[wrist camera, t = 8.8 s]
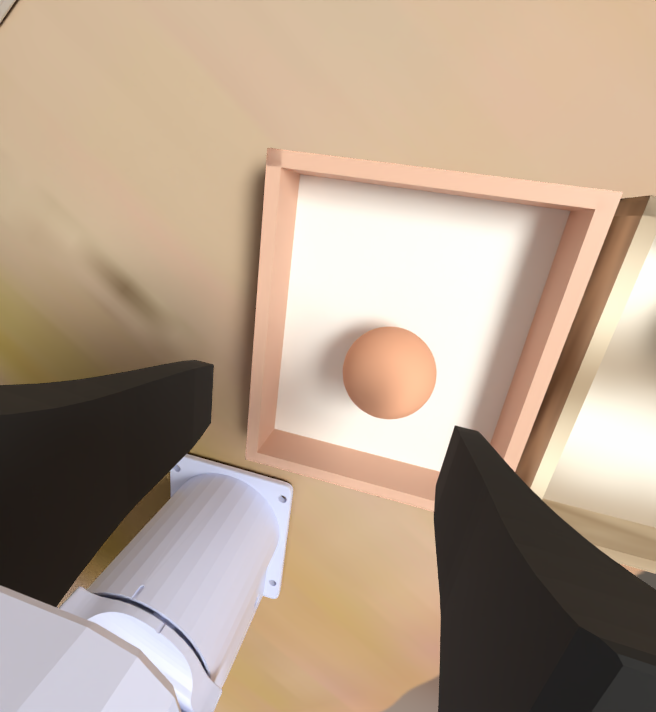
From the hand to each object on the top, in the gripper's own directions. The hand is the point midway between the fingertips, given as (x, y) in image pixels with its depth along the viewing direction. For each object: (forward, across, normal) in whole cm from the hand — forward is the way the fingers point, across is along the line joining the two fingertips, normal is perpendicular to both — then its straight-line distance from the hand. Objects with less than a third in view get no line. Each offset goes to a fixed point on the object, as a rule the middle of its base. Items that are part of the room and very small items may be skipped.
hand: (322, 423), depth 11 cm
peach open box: (+8, -1, 0) cm, 9 cm away
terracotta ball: (+6, -2, 0) cm, 6 cm away
